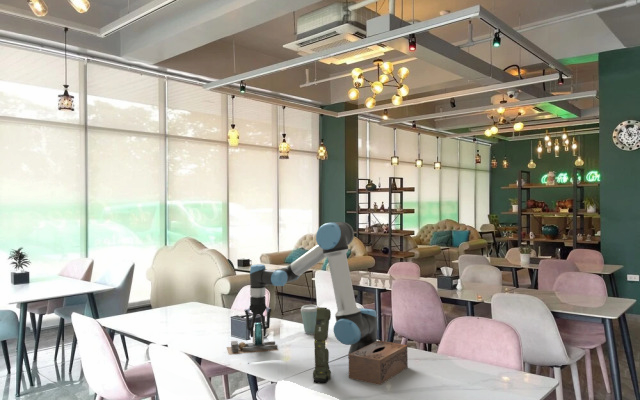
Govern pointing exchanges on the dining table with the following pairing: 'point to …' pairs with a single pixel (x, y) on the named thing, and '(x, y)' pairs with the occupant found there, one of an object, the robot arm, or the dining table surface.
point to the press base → (251, 348)
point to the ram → (257, 336)
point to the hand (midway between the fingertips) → (258, 343)
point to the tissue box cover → (378, 362)
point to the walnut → (242, 345)
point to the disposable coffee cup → (309, 318)
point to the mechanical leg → (321, 346)
